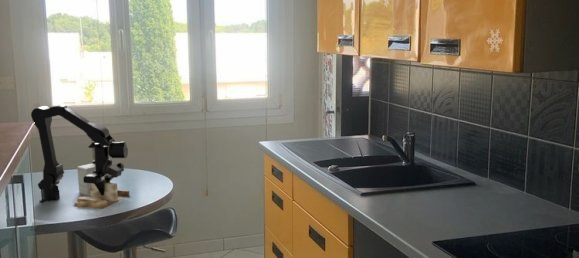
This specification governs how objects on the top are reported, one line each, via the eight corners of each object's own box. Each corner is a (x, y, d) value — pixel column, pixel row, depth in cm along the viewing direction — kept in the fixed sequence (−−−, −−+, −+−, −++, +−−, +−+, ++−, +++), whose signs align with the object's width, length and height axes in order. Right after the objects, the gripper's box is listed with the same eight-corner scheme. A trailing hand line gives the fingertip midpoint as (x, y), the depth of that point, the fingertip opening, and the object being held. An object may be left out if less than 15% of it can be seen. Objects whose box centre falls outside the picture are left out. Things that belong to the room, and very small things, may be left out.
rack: (72, 207, 238) (72, 201, 238) (101, 194, 257) (100, 188, 256) (102, 210, 234) (102, 204, 234) (129, 197, 253) (129, 190, 252)
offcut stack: (74, 205, 238) (73, 198, 238) (80, 202, 242) (79, 195, 242) (102, 208, 235) (101, 201, 234) (108, 205, 239) (107, 198, 238)
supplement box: (103, 193, 257) (101, 165, 255) (87, 197, 252) (85, 168, 250) (94, 190, 262) (92, 163, 260) (78, 194, 257) (76, 166, 255)
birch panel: (90, 198, 248) (89, 182, 247) (93, 197, 250) (92, 181, 248) (115, 200, 245) (114, 184, 243) (117, 199, 246) (117, 183, 245)
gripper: (105, 164, 233) (107, 202, 236) (131, 154, 250) (133, 190, 253) (81, 162, 236) (83, 200, 239) (108, 152, 254) (110, 187, 256)
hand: (104, 194), depth 247 cm, fingers closed on birch panel, 2 cm apart
